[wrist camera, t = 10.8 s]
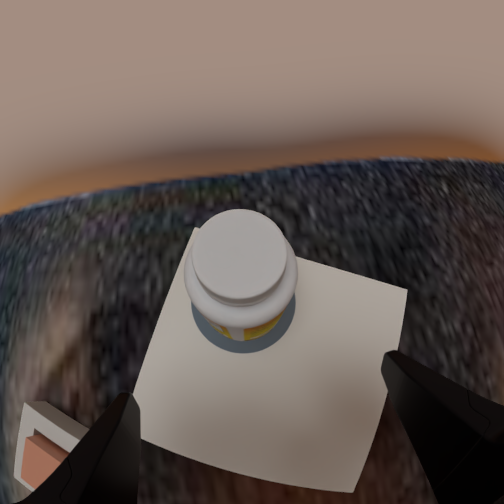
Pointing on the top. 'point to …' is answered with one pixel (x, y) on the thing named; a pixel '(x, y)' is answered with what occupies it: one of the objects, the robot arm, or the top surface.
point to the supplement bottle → (240, 274)
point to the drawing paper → (275, 381)
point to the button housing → (46, 430)
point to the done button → (40, 459)
